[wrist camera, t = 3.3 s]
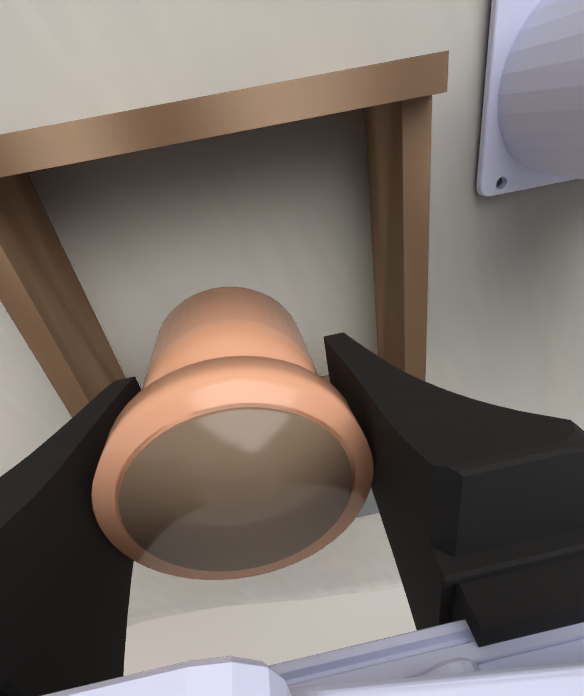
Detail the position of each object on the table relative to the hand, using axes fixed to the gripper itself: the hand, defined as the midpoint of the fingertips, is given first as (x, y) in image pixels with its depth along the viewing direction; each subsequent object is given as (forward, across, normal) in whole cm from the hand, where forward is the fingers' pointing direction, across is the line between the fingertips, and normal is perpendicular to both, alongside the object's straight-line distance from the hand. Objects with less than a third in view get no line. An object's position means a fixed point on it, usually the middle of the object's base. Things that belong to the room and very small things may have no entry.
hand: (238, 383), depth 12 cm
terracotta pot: (+2, 0, 0) cm, 2 cm away
